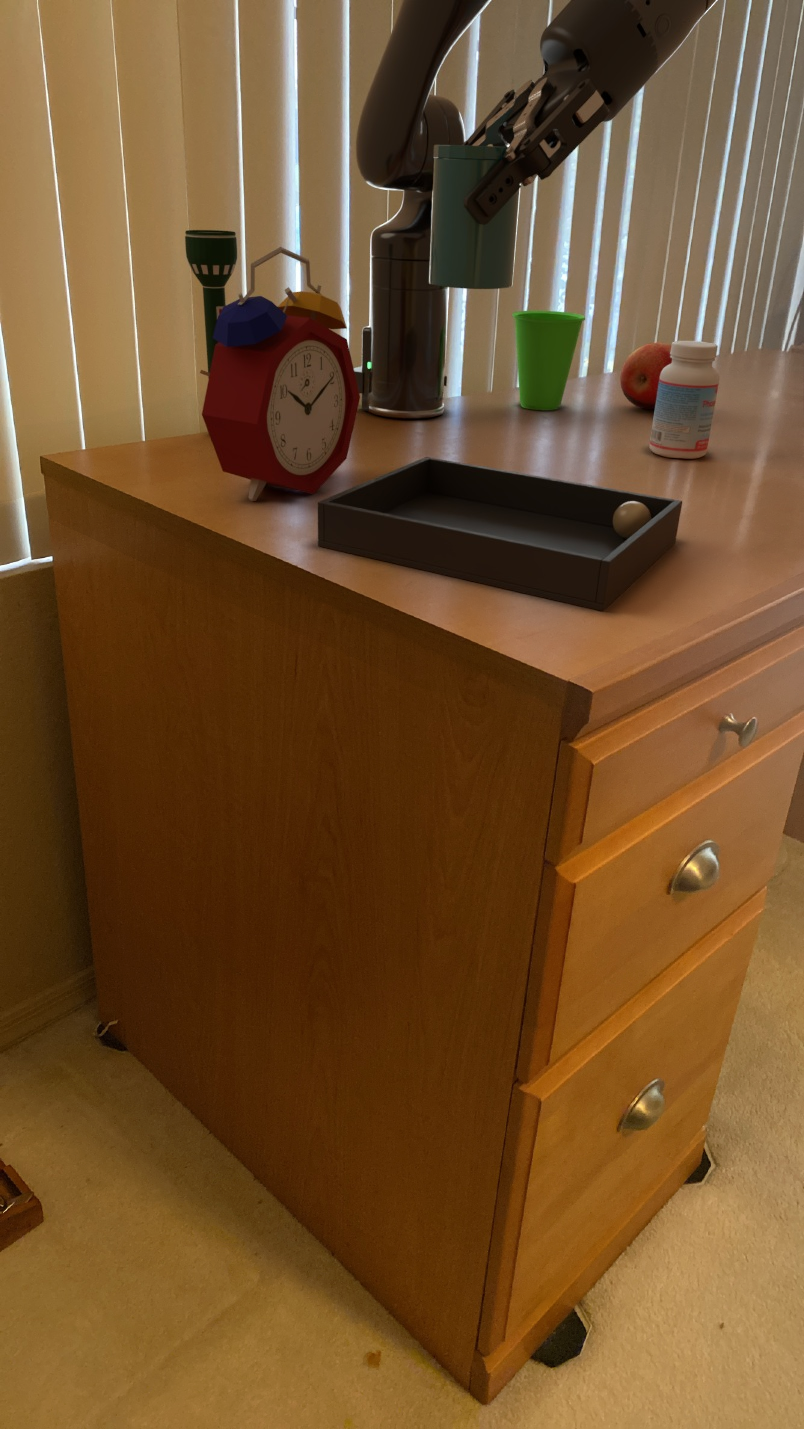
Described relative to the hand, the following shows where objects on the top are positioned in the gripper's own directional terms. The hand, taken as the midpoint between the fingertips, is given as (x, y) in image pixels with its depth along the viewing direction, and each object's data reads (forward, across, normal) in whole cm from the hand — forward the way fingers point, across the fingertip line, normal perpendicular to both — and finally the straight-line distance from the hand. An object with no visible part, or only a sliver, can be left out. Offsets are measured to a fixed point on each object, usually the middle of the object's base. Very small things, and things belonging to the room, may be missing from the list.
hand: (455, 211), depth 71 cm
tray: (+14, +7, +18) cm, 24 cm away
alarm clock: (+25, -13, +9) cm, 29 cm away
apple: (-14, -40, +47) cm, 63 cm away
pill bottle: (-7, -17, +40) cm, 44 cm away
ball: (+6, +9, +24) cm, 26 cm away
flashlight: (+26, -34, +7) cm, 44 cm away
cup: (-4, -43, +37) cm, 57 cm away
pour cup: (+2, 0, +4) cm, 5 cm away
